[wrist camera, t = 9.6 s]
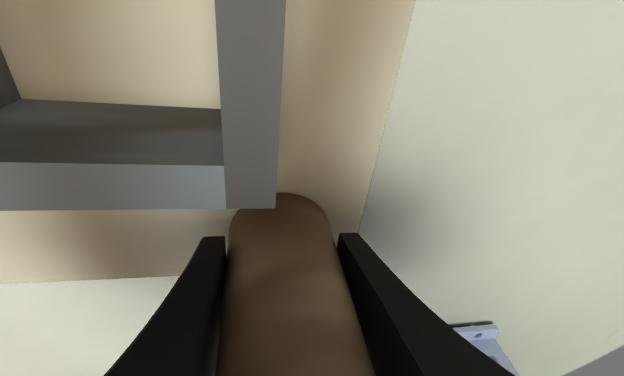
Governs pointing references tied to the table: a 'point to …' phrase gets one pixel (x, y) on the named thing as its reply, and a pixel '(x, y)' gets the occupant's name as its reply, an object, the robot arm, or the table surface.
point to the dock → (181, 124)
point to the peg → (287, 297)
